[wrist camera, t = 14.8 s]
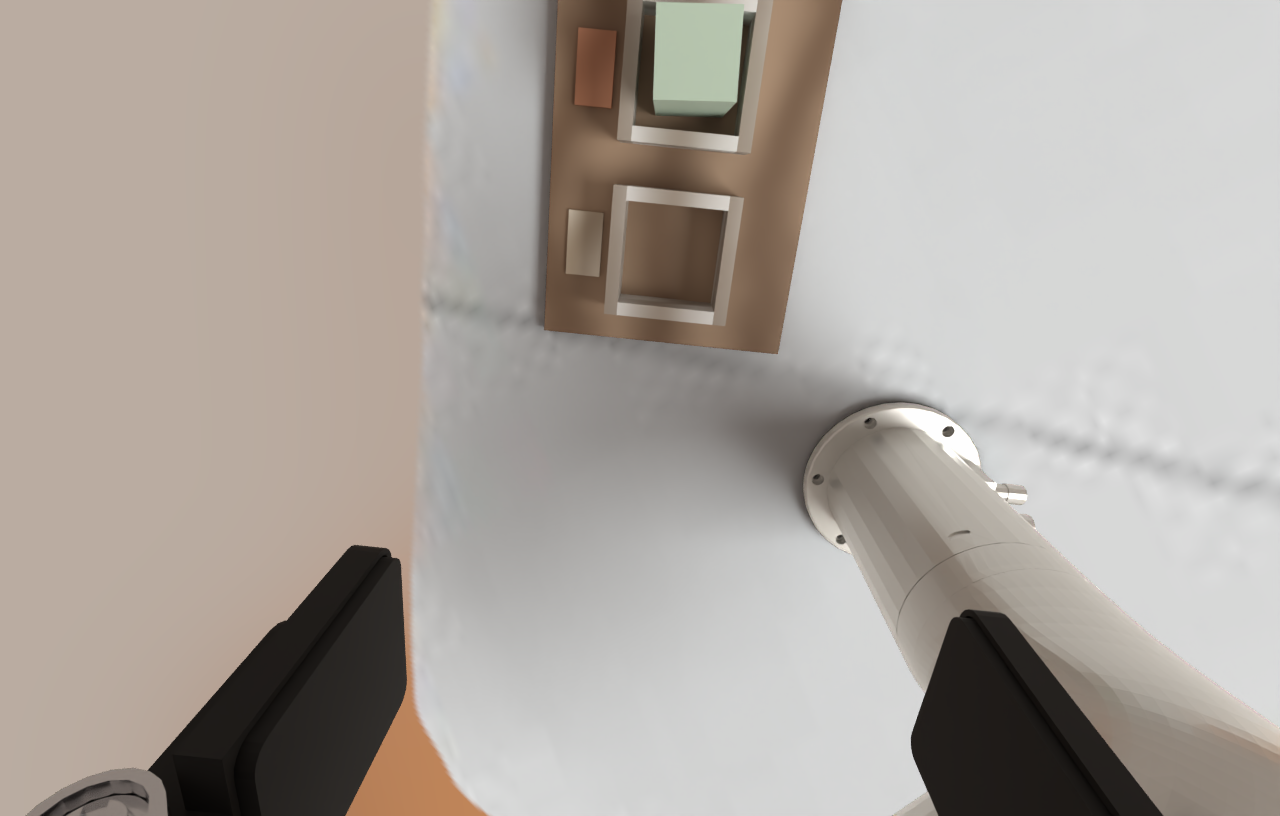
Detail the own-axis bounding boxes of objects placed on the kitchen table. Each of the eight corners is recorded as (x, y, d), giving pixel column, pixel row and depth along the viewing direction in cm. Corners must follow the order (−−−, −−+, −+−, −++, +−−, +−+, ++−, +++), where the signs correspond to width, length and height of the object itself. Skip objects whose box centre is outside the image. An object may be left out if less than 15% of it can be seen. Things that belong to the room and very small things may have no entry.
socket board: (842, -23, 35) (863, -47, 31) (775, 350, 43) (785, 366, 39) (562, -51, 35) (550, -79, 31) (547, 326, 43) (535, 340, 39)
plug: (727, 41, 35) (744, 3, 28) (722, 117, 37) (736, 101, 29) (658, 39, 35) (656, 1, 28) (655, 115, 37) (652, 99, 29)
